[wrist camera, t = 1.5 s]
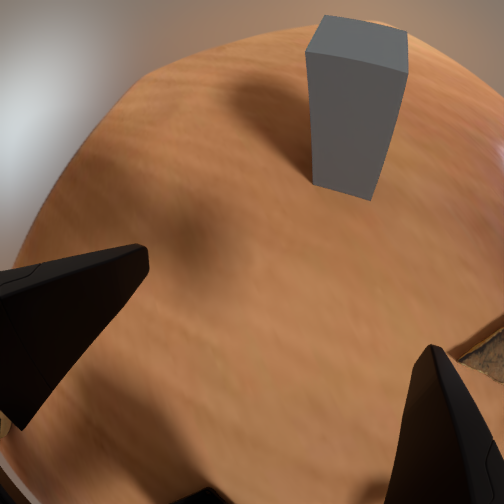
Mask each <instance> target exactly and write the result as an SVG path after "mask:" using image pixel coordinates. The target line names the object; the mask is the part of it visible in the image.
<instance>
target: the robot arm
mask: <svg viewBox="0 0 504 504" xmlns="http://www.w3.org/2000/svg"><path fill="white" fill-rule="evenodd" d="M148 273H149V256H148V250H147V248H146V247H145V246H142V245H140V244H131V245H125V246H120V247H115V248H110V249H105V250H100V251H95V252H91V253H86V254H81V255H76V256H72V257H67V258H62V259H58V260H53V261H49V262H44V263H42V264H41V263H39V264H35V265H31V266H26V267H21V268H16V269H11V270H5V271H0V411H1V412H2V413H3V414H4V415H5V416H6V417H7V418H8V419H9V420H10V421H11V422H12V423H13V424H14V425H15V426H16V427H18V428H19V429H20V430H21V431H23V430H24V429H25V428H26V426H27V425H28V423H29V422H30V421H31V419H32V418H33V417H34V415H35V414H36V413H37V411H38V410H39V409H40V407H41V406H42V405H43V403H44V402H45V401H46V399H47V398H48V397H49V396H50V394H51V393H52V391H53V390H54V389H55V388H56V386H57V385H58V384H59V383H60V381H61V380H62V379H63V378H64V376H65V375H66V374H67V373H68V371H69V370H70V369H71V368H72V366H73V365H74V364H75V363H76V362H77V360H78V359H79V358H80V357H81V356H82V354H83V353H84V352H85V351H86V350H87V348H88V347H89V346H90V345H91V344H92V343H93V341H94V340H95V339H96V338H97V337H98V336H99V334H100V333H101V332H102V331H103V330H104V329H105V327H106V326H107V325H108V324H109V323H110V322H111V321H112V319H113V318H114V317H115V316H116V315H117V314H118V313H119V312H120V310H121V309H122V308H123V307H124V306H125V304H126V303H127V302H128V300H129V299H130V298H131V296H132V295H133V294H134V292H135V291H136V289H137V288H138V287H139V285H140V284H141V283H142V281H143V280H144V279H145V277H146V276H147V275H148ZM0 428H1V418H0ZM207 492H209V493H210V494H208V493H207ZM0 504H31V503H30V502H29V500H28V499H27V498H26V497H25V496H24V495H23V494H22V493H21V491H20V490H19V489H18V488H17V487H16V485H15V484H14V483H13V482H12V481H11V479H10V478H9V477H8V476H7V474H6V473H5V472H4V470H3V469H2V468H1V466H0ZM170 504H228V503H226V502H225V501H224V500H223V499H222V498H221V497H220V496H219V495H218V494H217V493H216V492H215V491H214V490H213V489H212V488H210V487H206V488H204V489H202V490H199V491H197V492H195V493H193V494H191V495H189V496H186V497H184V498H182V499H179V500H177V501H175V502H172V503H170ZM384 504H504V460H503V457H502V455H501V453H500V451H499V449H498V447H497V445H496V442H495V440H493V436H492V434H491V432H490V430H489V428H488V426H487V424H486V422H485V420H484V418H483V417H482V415H481V413H480V411H479V409H478V407H477V405H476V404H475V402H474V400H473V398H472V396H471V395H470V393H469V391H468V389H467V388H466V386H465V384H464V383H463V381H462V379H461V377H460V376H459V374H458V373H457V371H456V369H455V368H454V366H453V364H452V363H451V361H450V360H449V358H448V356H447V355H446V353H445V352H444V350H443V349H442V348H441V347H439V346H436V345H432V344H430V345H428V346H427V347H426V348H425V350H424V351H423V353H422V354H421V355H420V357H419V358H418V360H417V361H416V363H415V364H414V367H413V370H412V375H411V380H410V385H409V390H408V394H407V399H406V403H405V407H404V412H403V416H402V422H401V429H400V435H399V441H398V446H397V451H396V456H395V461H394V466H393V470H392V474H391V478H390V482H389V486H388V490H387V494H386V497H385V501H384Z"/></svg>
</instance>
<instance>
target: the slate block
mask: <svg viewBox="0 0 504 504" xmlns="http://www.w3.org/2000/svg"><path fill="white" fill-rule="evenodd" d="M305 56H306V67H307V78H308V91H309V106H310V122H311V143H312V172H313V185H317V186H320V187H324V188H328V189H331V190H335V191H339V192H342V193H346V194H349V195H352V196H356V197H359V198H362V199H366V200H369V201H371V199H372V196H373V193H374V190H375V187H376V184H377V182H378V179H379V176H380V173H381V170H382V167H383V164H384V160H385V157H386V154H387V151H388V148H389V145H390V141H391V138H392V134H393V131H394V128H395V124H396V121H397V117H398V113H399V110H400V106H401V102H402V98H403V94H404V90H405V86H406V82H407V77H408V39H407V32H406V31H403V30H399V29H396V28H392V27H388V26H384V25H380V24H375V23H370V22H366V21H361V20H355V19H349V18H343V17H337V16H329V15H324V17H323V19H322V21H321V23H320V24H319V26H318V28H317V30H316V32H315V34H314V36H313V37H312V39H311V41H310V43H309V45H308V47H307V49H306V51H305Z"/></svg>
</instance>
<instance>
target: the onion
mask: <svg viewBox="0 0 504 504" xmlns="http://www.w3.org/2000/svg"><path fill="white" fill-rule="evenodd" d="M0 418H1V428H0V439H1V438H3V437H5V436H6V435H7V433H8V432H9V430H10V427H11V423H12V422H11V421H10V420H9V419H8V418H7V417H6V416H5V415H4V414H3V413H2V412H1V411H0Z"/></svg>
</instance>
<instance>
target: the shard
mask: <svg viewBox="0 0 504 504" xmlns="http://www.w3.org/2000/svg"><path fill="white" fill-rule="evenodd" d="M457 362H458V363H460V364H462V365H464V366H467V367H469V368H471V369H473V370H477V371H479V372H481V373H483V374H485V375H487V376H489V377H491V378H492V379H493V380H494V381H496V382H498V383H500V384H502V385H504V327H502V328H501V329H499V330H498V331H496V332H495V333H494V334H492V335H491V336H489V337H488V338H486V339H485V340H483V341H482V342H480V343H478V344H476V345H475V346H474V347H473V348H471V349H470V350H469V351H468V352H467V353H465V354H463V356H462V357H460V358H459V359H458V360H457Z"/></svg>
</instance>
